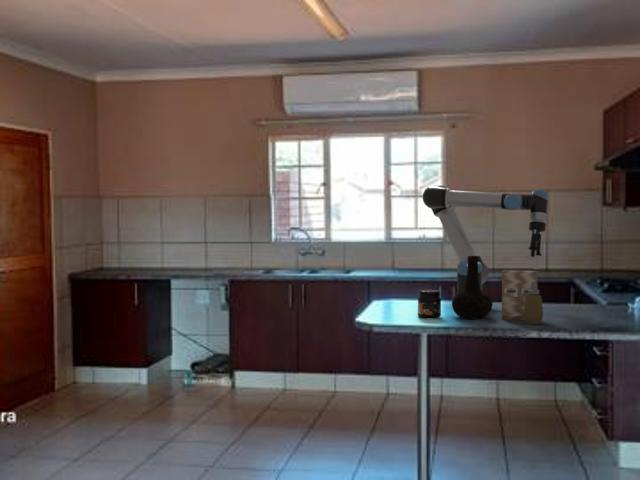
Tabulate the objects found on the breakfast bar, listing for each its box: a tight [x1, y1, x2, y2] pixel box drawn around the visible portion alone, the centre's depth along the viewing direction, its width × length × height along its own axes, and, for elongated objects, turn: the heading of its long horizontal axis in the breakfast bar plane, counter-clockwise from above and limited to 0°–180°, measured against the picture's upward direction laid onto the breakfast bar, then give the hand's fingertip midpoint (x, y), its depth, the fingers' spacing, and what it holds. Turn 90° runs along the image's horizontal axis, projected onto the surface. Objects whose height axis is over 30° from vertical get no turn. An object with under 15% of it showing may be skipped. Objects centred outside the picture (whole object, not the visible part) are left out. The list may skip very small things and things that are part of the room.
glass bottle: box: [451, 256, 494, 320], centre depth 339 cm, size 18×18×28 cm
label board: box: [501, 270, 538, 321], centre depth 334 cm, size 15×6×22 cm, turn 77°
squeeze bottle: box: [524, 281, 544, 326], centre depth 321 cm, size 8×8×18 cm
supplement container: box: [417, 289, 442, 319], centre depth 342 cm, size 10×10×12 cm
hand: (534, 266), depth 356 cm, fingers open, 13 cm apart
